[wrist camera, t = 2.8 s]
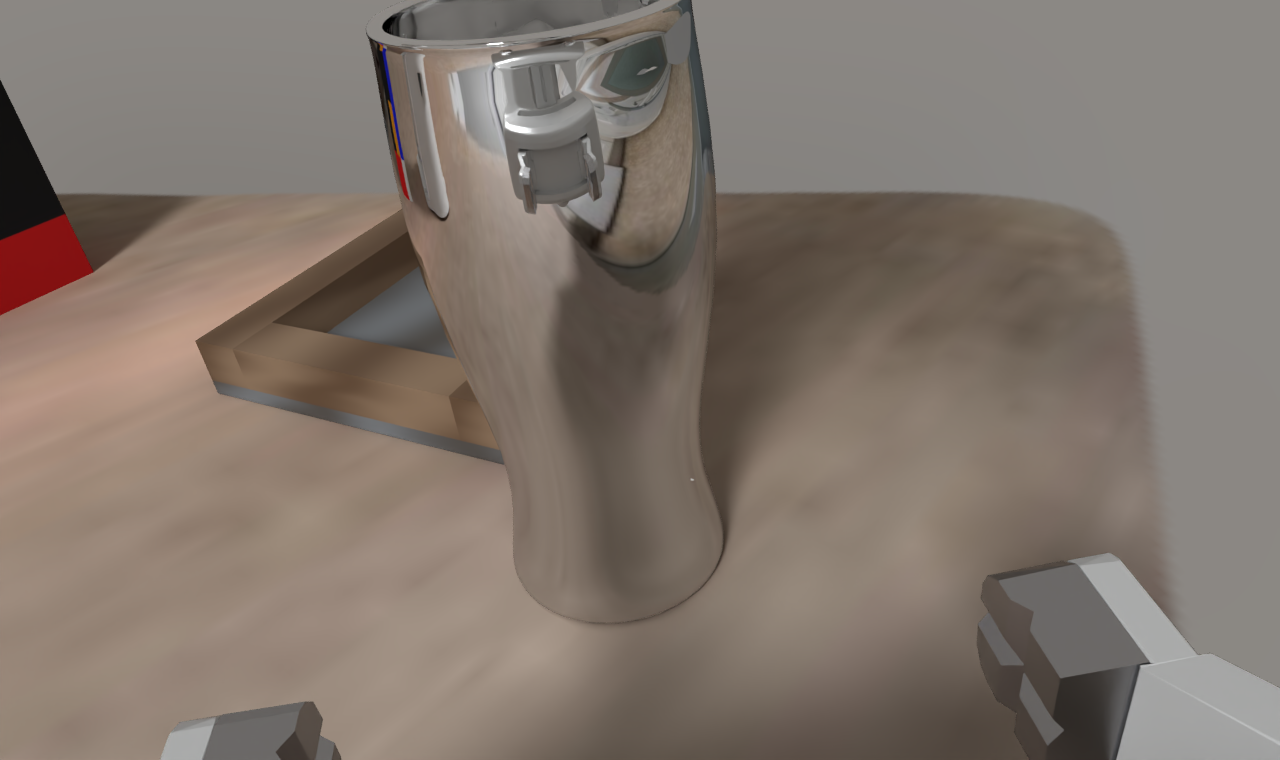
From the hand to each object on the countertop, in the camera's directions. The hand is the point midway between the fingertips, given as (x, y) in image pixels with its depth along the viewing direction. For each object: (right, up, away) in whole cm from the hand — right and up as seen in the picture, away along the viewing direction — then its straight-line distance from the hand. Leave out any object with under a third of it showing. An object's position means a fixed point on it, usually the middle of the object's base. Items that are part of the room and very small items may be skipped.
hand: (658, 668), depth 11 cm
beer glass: (-1, -1, +16) cm, 16 cm away
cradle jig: (-7, +6, +27) cm, 29 cm away
